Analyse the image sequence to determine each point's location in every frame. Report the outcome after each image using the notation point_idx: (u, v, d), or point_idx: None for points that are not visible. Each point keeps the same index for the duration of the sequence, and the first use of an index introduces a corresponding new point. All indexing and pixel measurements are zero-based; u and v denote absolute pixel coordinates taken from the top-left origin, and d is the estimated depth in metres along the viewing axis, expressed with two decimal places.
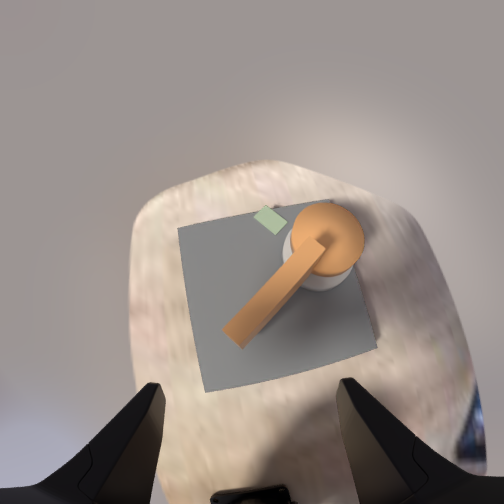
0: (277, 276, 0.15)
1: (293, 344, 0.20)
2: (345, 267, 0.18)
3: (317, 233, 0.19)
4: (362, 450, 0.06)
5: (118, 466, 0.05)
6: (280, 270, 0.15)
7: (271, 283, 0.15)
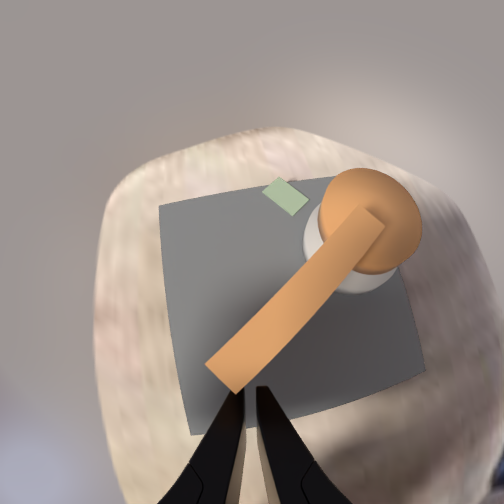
0: (308, 269, 0.08)
1: (317, 371, 0.13)
2: (400, 260, 0.11)
3: None
4: (264, 463, 0.06)
5: (230, 480, 0.05)
6: (314, 259, 0.08)
7: (299, 282, 0.08)
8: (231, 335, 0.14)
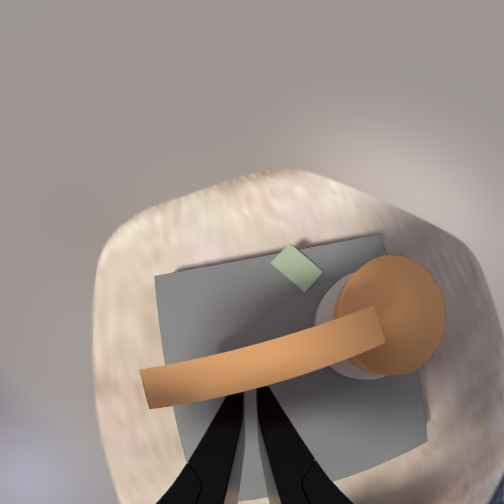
0: (278, 345, 0.07)
1: (322, 451, 0.12)
2: (392, 373, 0.09)
3: (383, 302, 0.10)
4: (265, 463, 0.06)
5: (229, 480, 0.05)
6: (290, 338, 0.07)
7: (261, 352, 0.07)
8: None
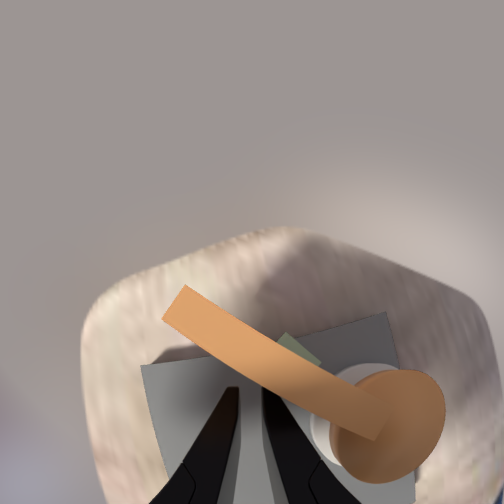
0: (305, 368, 0.07)
1: None
2: (346, 467, 0.08)
3: (397, 410, 0.09)
4: (270, 463, 0.06)
5: (223, 480, 0.05)
6: (318, 371, 0.07)
7: (289, 361, 0.07)
8: None
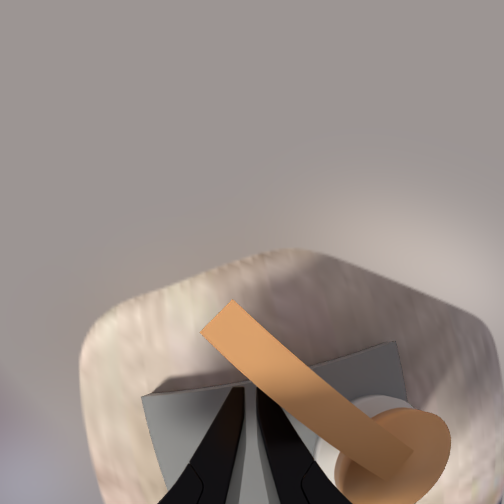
0: (342, 406, 0.06)
1: None
2: (347, 498, 0.07)
3: None
4: (264, 463, 0.06)
5: (230, 481, 0.05)
6: (354, 410, 0.06)
7: (328, 396, 0.06)
8: None
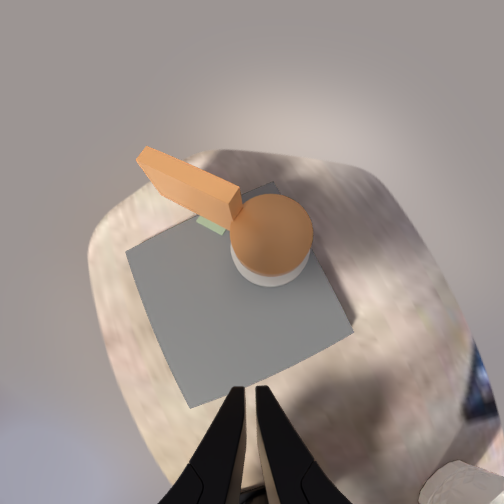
0: (192, 169, 0.16)
1: (263, 346, 0.20)
2: (236, 253, 0.17)
3: (268, 218, 0.18)
4: (264, 463, 0.06)
5: (230, 481, 0.05)
6: (198, 169, 0.16)
7: (185, 166, 0.16)
8: (197, 334, 0.20)
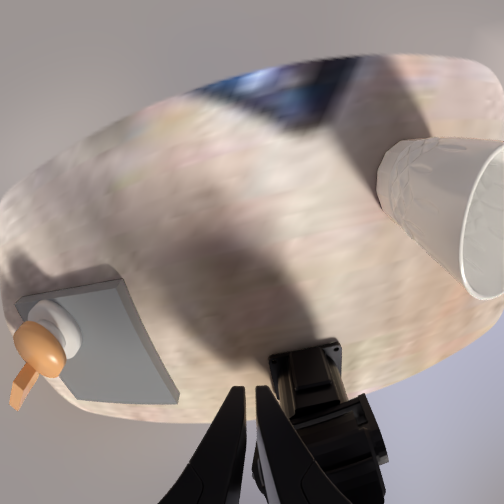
0: (12, 394, 0.15)
1: (126, 355, 0.22)
2: (52, 377, 0.17)
3: (28, 353, 0.16)
4: (264, 463, 0.06)
5: (231, 481, 0.05)
6: (12, 392, 0.15)
7: (12, 395, 0.16)
8: (120, 384, 0.23)
